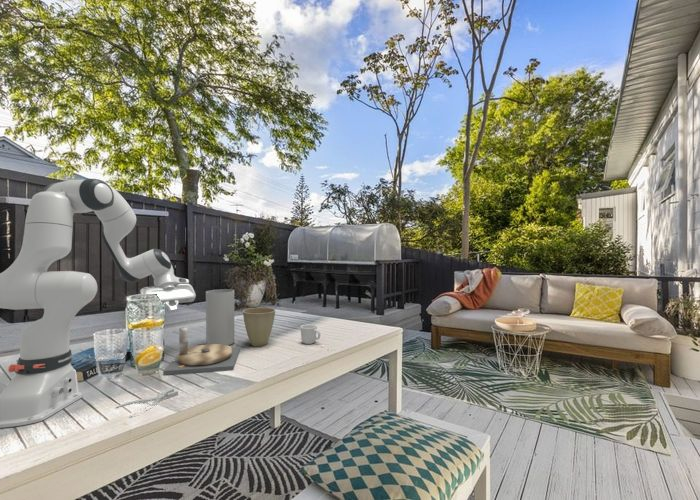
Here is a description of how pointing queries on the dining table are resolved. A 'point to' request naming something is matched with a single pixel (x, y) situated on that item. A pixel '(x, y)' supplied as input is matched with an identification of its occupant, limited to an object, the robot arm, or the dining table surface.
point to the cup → (309, 333)
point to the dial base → (219, 366)
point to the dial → (201, 351)
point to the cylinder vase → (220, 317)
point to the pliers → (160, 397)
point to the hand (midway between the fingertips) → (173, 310)
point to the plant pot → (258, 324)
